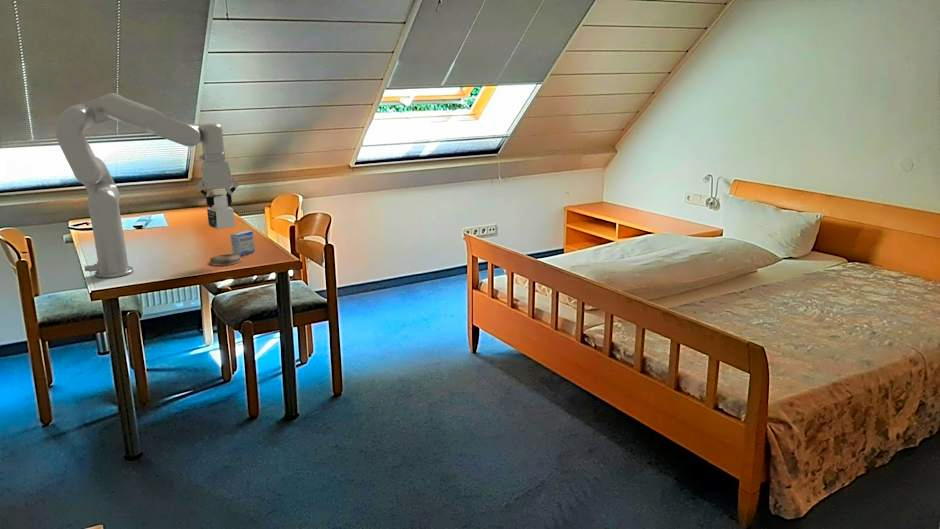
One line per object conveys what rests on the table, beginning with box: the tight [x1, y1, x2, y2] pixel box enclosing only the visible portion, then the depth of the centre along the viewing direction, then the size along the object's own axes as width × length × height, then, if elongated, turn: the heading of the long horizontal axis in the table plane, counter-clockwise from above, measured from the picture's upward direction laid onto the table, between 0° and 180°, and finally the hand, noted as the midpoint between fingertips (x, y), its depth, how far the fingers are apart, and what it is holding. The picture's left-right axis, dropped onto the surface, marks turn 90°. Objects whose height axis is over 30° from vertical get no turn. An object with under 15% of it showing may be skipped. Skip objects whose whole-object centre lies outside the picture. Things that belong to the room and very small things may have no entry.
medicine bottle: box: [206, 194, 236, 230], centre depth 262 cm, size 7×7×12 cm
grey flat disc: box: [209, 253, 243, 267], centre depth 267 cm, size 12×12×2 cm
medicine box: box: [230, 230, 256, 257], centre depth 278 cm, size 8×4×9 cm, turn 151°
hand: (219, 205), depth 262 cm, fingers closed on medicine bottle, 6 cm apart
